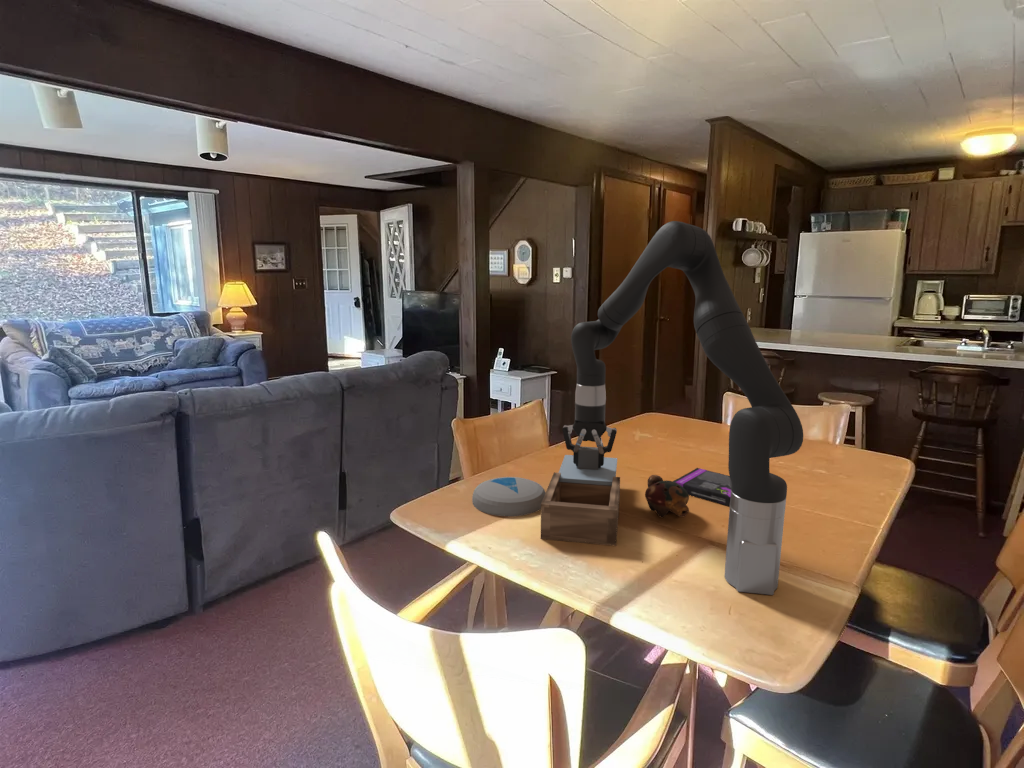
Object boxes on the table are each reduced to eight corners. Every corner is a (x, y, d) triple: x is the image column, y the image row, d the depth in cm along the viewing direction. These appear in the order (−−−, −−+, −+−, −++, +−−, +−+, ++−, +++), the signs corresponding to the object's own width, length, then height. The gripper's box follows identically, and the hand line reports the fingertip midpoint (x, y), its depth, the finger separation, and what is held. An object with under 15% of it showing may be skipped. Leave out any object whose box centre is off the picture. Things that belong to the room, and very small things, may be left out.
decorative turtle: (664, 499, 147) (665, 469, 145) (703, 523, 133) (706, 490, 132) (630, 504, 144) (632, 474, 142) (668, 530, 130) (670, 496, 128)
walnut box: (616, 545, 122) (617, 510, 121) (540, 538, 126) (540, 504, 124) (619, 508, 142) (620, 477, 140) (553, 502, 145) (553, 472, 143)
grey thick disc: (487, 522, 134) (486, 502, 133) (462, 494, 151) (462, 475, 150) (559, 510, 141) (559, 490, 140) (528, 484, 158) (528, 466, 157)
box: (670, 493, 153) (744, 513, 140) (671, 480, 153) (745, 499, 139) (696, 479, 163) (767, 496, 150) (696, 467, 162) (768, 483, 149)
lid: (614, 486, 139) (615, 461, 138) (556, 481, 142) (556, 458, 141) (617, 461, 157) (617, 440, 155) (565, 458, 159) (565, 437, 158)
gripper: (559, 403, 144) (558, 469, 147) (619, 406, 141) (616, 473, 144) (563, 396, 151) (562, 459, 154) (619, 399, 148) (617, 463, 151)
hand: (588, 465), depth 149 cm, fingers closed on lid, 5 cm apart
